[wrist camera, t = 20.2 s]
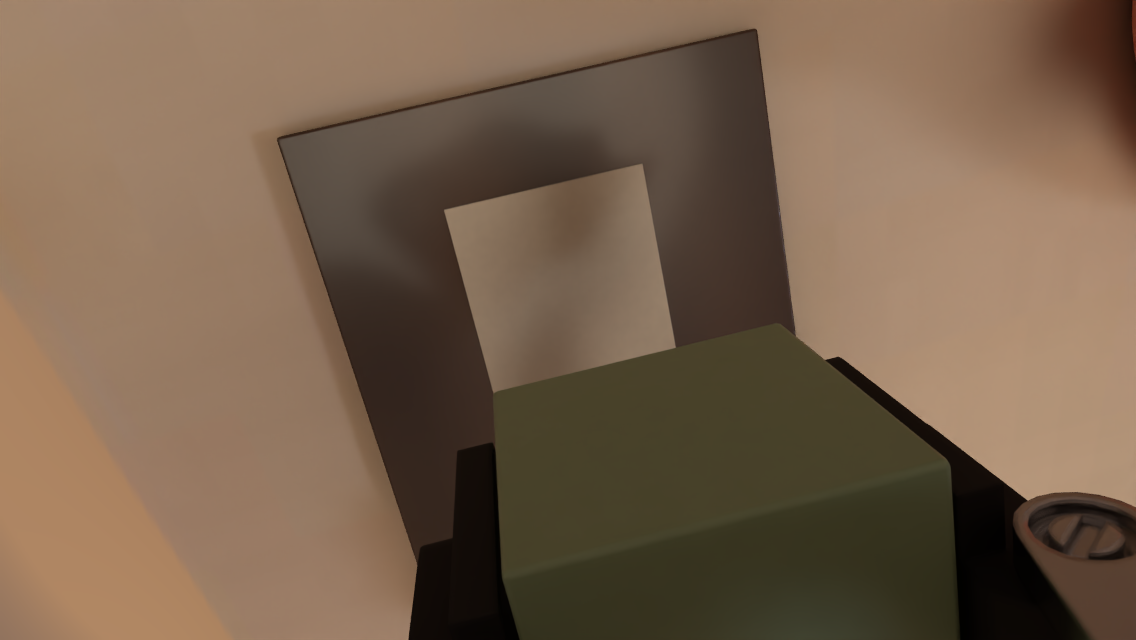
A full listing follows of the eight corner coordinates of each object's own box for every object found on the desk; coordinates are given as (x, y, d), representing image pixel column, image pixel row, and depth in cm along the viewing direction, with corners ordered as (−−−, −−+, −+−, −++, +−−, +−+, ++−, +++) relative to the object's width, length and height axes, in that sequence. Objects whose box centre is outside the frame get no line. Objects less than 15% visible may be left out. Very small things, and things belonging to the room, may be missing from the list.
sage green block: (555, 629, 13) (594, 901, 8) (491, 390, 11) (499, 575, 7) (811, 563, 13) (972, 798, 9) (779, 320, 11) (954, 459, 7)
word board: (473, 720, 29) (472, 735, 28) (280, 136, 22) (274, 138, 21) (827, 626, 29) (835, 638, 29) (750, 29, 22) (758, 27, 22)
